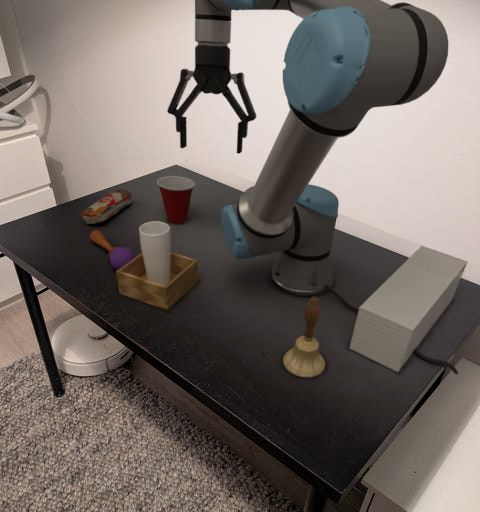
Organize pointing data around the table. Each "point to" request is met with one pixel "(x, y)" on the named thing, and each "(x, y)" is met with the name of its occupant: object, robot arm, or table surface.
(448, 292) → the stack of papers
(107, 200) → the pencil case
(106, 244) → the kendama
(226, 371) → the table surface
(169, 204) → the plastic cup
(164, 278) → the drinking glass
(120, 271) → the bin
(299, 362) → the hand bell
